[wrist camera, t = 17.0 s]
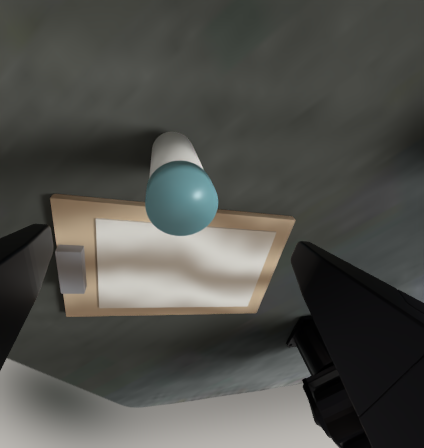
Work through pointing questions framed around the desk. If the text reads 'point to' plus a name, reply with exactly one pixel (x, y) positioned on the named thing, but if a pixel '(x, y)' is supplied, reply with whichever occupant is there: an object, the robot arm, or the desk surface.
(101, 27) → the desk surface
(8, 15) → the desk surface
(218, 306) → the clipboard
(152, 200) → the marker
